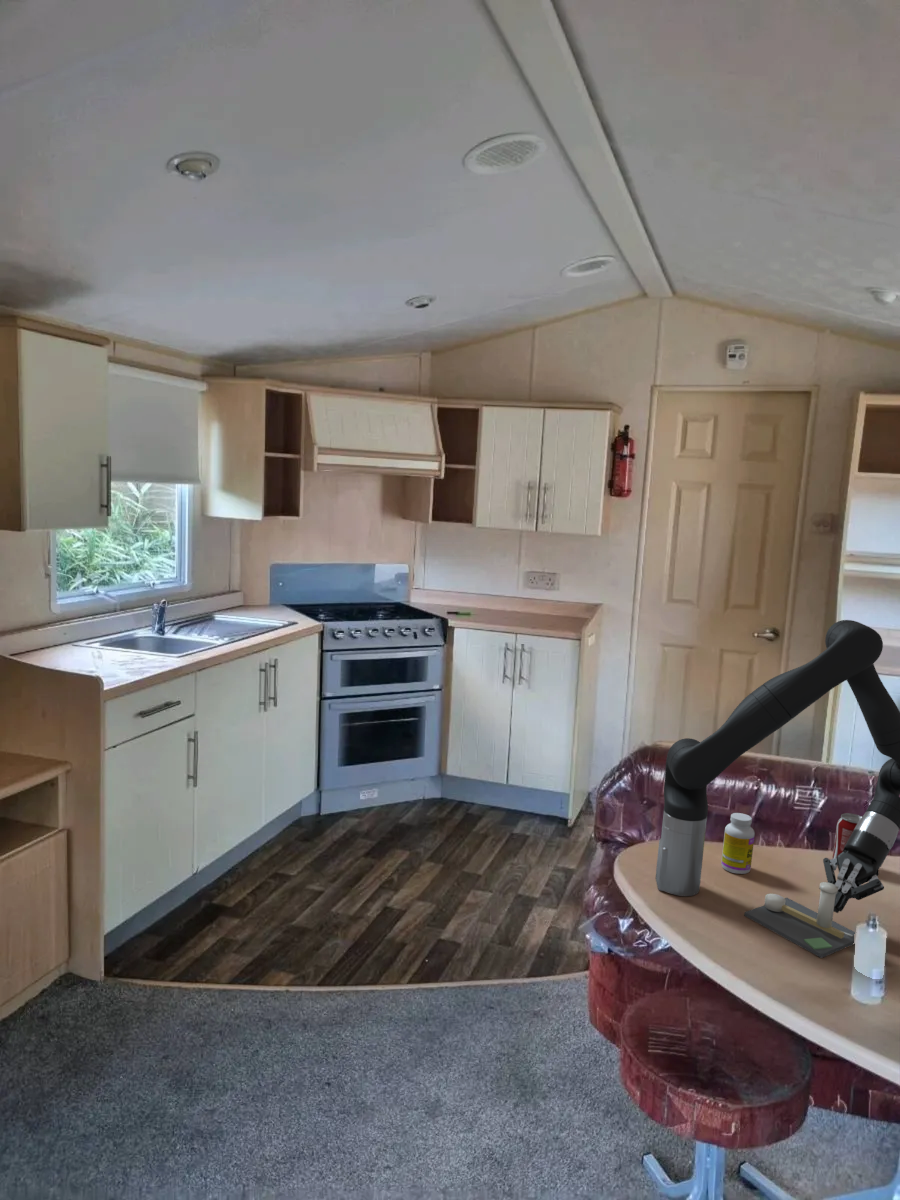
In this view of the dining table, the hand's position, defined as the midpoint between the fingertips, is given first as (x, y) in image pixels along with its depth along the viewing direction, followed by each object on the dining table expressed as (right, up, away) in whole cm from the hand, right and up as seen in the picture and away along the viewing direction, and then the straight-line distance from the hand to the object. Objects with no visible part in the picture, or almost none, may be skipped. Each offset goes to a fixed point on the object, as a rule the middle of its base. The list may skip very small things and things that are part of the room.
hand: (832, 909), depth 175 cm
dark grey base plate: (-5, -5, +3) cm, 7 cm away
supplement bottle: (-10, -1, +29) cm, 30 cm away
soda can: (+19, -2, +34) cm, 39 cm away
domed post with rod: (-5, -3, +3) cm, 7 cm away
